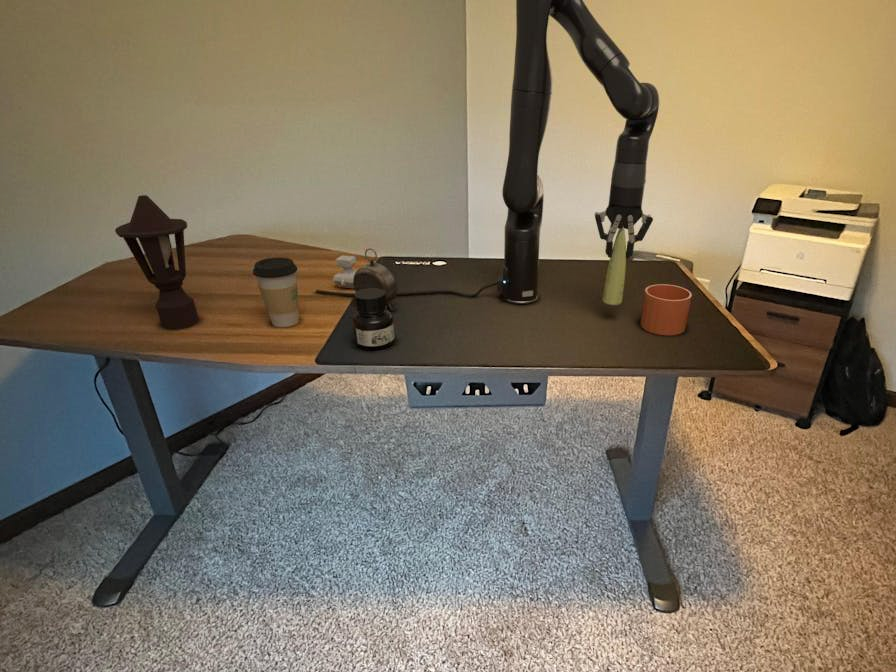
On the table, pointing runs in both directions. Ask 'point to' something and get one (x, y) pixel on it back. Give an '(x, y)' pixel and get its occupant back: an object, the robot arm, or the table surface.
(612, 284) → the tube
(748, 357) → the table surface
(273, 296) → the coffee cup
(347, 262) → the stamp
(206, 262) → the table surface
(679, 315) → the pen cup
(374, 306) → the ink bottle
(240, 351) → the table surface
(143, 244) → the lantern
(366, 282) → the alarm clock
